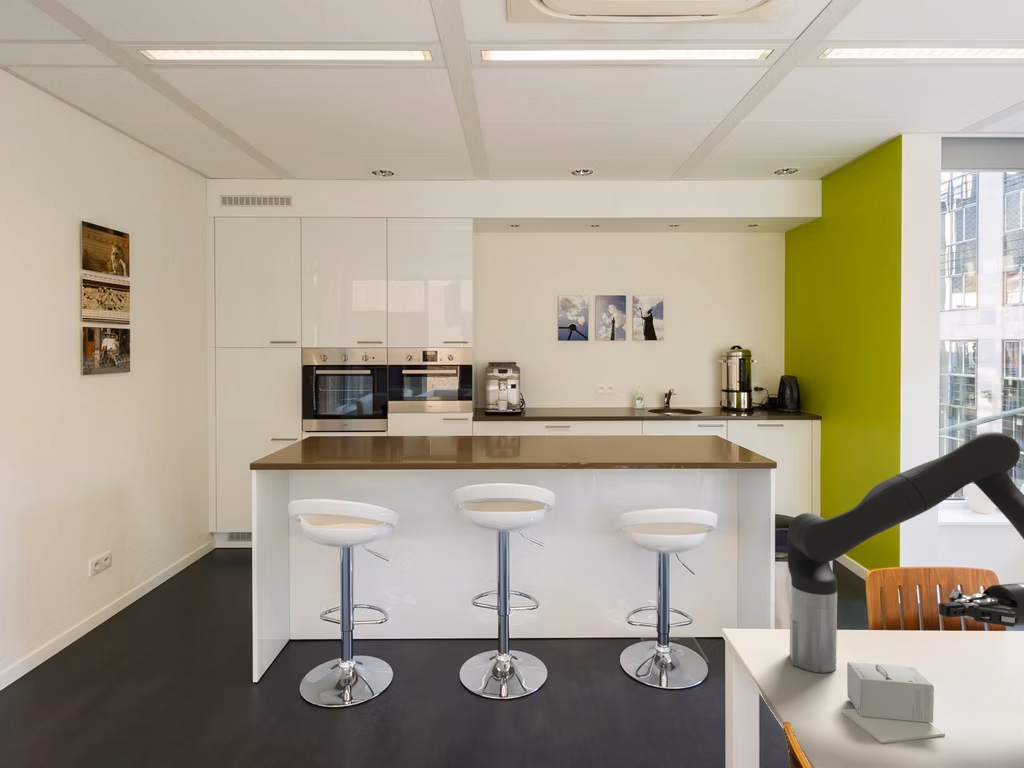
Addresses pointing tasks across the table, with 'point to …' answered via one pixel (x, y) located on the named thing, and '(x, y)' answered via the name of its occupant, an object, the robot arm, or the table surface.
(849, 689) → the supplement box
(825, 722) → the table surface
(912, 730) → the mat
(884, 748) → the table surface
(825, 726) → the table surface
